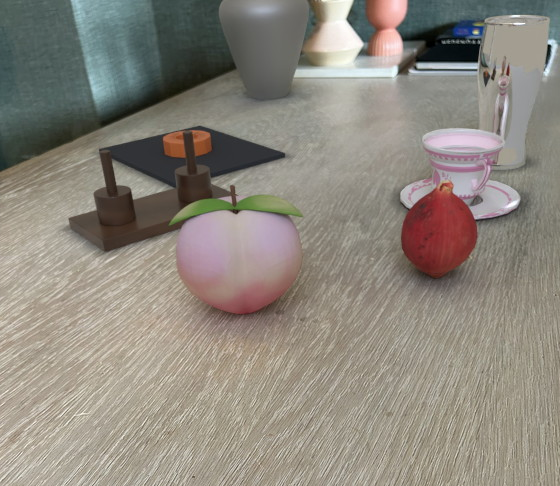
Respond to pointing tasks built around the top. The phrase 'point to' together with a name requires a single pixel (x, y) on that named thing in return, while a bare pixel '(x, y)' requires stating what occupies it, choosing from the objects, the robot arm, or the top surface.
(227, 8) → the vase
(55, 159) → the top surface
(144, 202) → the rack
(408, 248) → the pomegranate
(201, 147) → the disc
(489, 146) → the teacup
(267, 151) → the mat
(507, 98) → the beer glass
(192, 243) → the decorative fruit
